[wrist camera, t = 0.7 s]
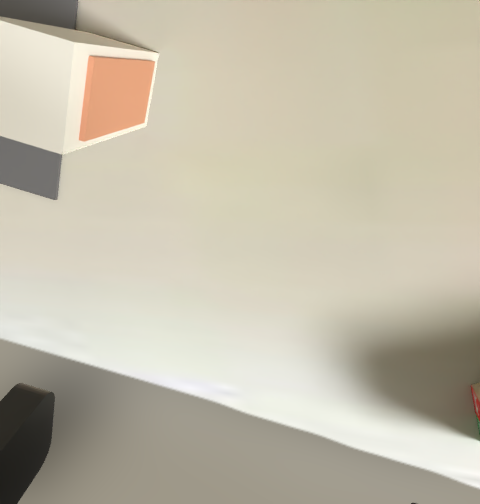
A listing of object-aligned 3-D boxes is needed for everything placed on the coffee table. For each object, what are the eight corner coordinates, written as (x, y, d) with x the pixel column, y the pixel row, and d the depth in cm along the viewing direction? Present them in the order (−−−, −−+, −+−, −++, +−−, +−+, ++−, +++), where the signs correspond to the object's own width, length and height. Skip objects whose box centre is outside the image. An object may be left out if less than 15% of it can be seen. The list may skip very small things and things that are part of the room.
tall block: (89, 32, 30) (-35, 10, 19) (163, 54, 30) (80, 44, 19) (80, 106, 32) (-37, 124, 21) (150, 127, 32) (68, 156, 21)
